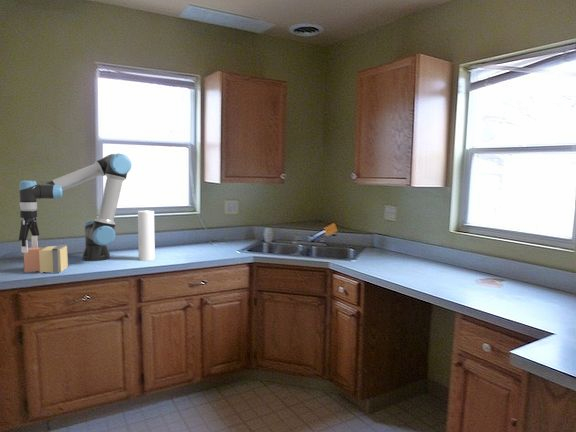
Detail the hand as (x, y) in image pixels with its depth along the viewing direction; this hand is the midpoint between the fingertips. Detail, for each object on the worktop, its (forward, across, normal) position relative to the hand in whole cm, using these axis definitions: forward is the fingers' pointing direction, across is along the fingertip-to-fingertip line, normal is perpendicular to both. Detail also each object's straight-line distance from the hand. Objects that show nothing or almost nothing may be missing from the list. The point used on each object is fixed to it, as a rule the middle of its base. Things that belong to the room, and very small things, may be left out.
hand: (29, 250), depth 218 cm
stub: (+11, 0, +2) cm, 11 cm away
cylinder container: (+10, -22, +56) cm, 62 cm away
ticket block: (+11, 0, +12) cm, 16 cm away
